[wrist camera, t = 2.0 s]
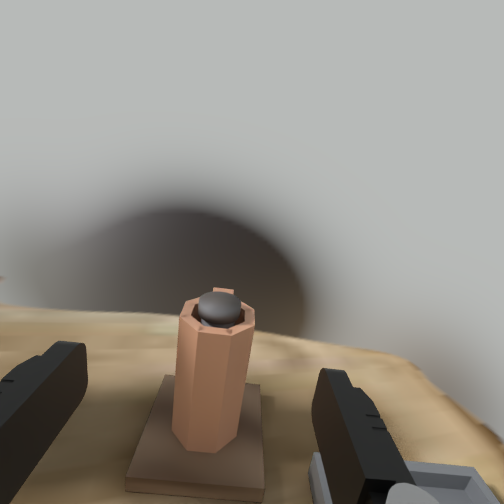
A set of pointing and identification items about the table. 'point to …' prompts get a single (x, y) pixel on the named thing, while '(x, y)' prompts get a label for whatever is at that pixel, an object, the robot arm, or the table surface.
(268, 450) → the table surface
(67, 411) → the robot arm
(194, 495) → the stake stand
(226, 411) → the sleeve
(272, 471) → the table surface
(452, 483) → the tray
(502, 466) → the table surface
